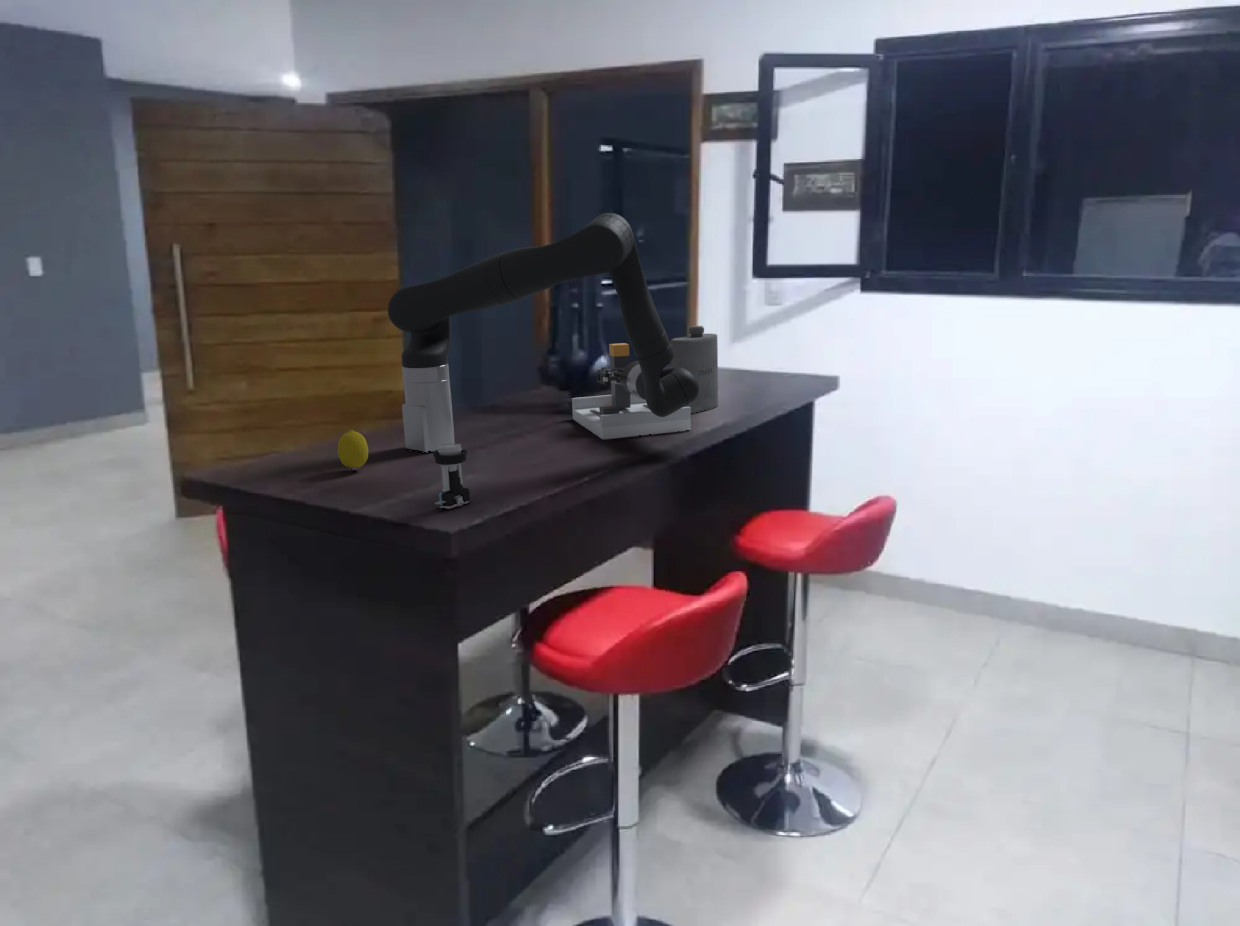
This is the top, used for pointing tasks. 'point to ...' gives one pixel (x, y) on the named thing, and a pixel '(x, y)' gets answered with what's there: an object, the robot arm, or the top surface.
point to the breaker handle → (619, 360)
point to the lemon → (352, 449)
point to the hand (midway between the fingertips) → (620, 370)
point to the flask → (699, 365)
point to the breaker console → (626, 418)
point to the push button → (451, 474)
